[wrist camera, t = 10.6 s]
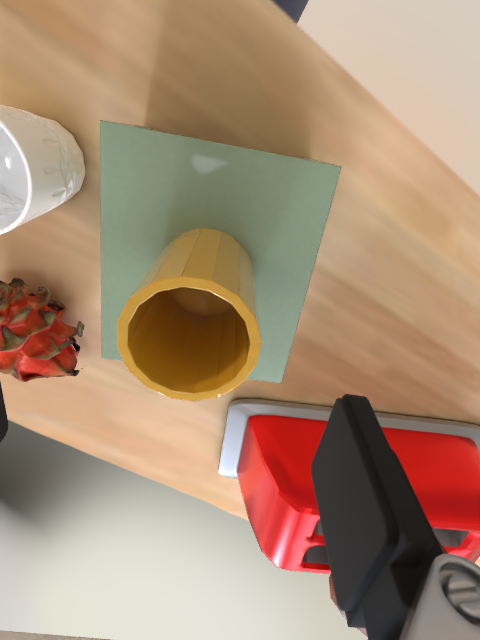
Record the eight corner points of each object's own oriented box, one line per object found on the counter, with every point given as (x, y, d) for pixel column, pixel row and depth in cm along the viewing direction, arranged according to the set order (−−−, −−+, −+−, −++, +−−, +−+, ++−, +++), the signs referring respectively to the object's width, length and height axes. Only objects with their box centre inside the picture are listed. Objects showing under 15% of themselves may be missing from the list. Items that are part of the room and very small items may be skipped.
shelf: (143, 126, 29) (99, 120, 20) (311, 158, 30) (341, 166, 21) (135, 303, 36) (101, 358, 27) (271, 324, 37) (281, 383, 28)
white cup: (98, 211, 32) (43, 239, 23) (9, 207, 31) (-82, 233, 22) (85, 109, 28) (13, 95, 19) (-16, 103, 28) (-136, 86, 19)
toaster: (490, 423, 43) (650, 604, 26) (447, 492, 49) (556, 677, 32) (229, 393, 41) (223, 570, 24) (217, 469, 47) (205, 654, 30)
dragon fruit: (6, 254, 35) (97, 333, 41) (-69, 315, 32) (39, 390, 39) (9, 255, 28) (117, 350, 34) (-87, 334, 26) (48, 421, 32)
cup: (161, 219, 22) (117, 265, 14) (261, 237, 23) (274, 290, 15) (155, 310, 25) (115, 391, 17) (244, 324, 25) (246, 408, 17)
